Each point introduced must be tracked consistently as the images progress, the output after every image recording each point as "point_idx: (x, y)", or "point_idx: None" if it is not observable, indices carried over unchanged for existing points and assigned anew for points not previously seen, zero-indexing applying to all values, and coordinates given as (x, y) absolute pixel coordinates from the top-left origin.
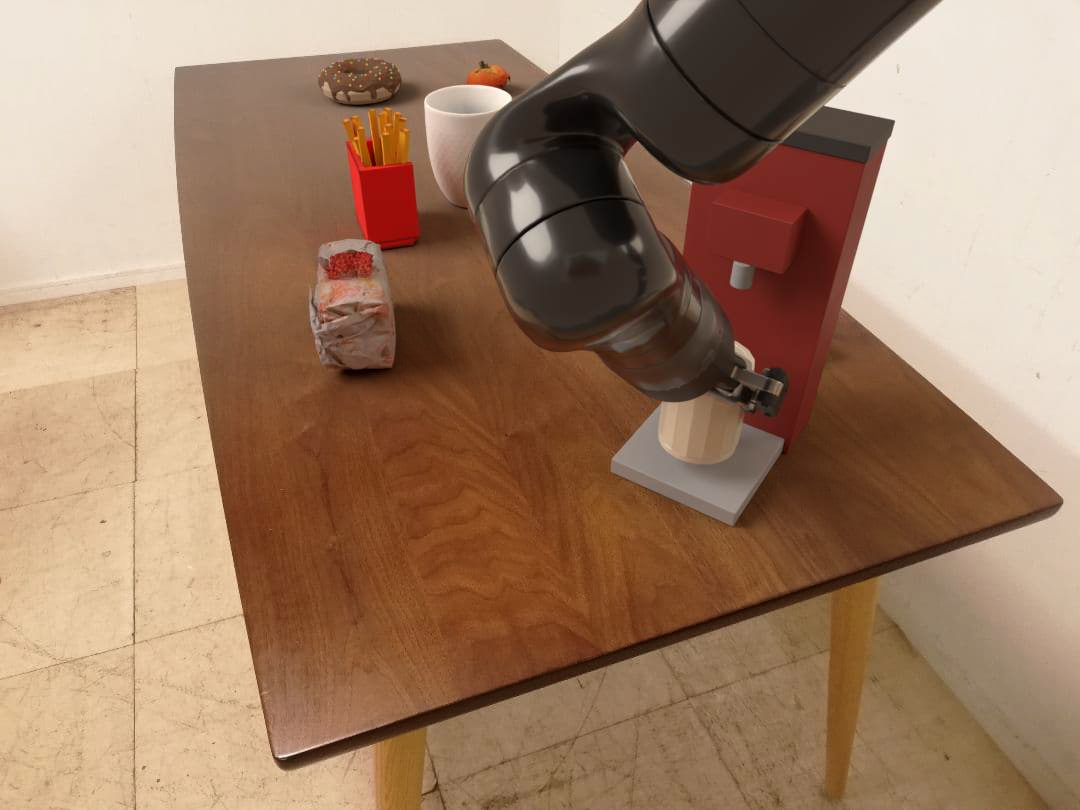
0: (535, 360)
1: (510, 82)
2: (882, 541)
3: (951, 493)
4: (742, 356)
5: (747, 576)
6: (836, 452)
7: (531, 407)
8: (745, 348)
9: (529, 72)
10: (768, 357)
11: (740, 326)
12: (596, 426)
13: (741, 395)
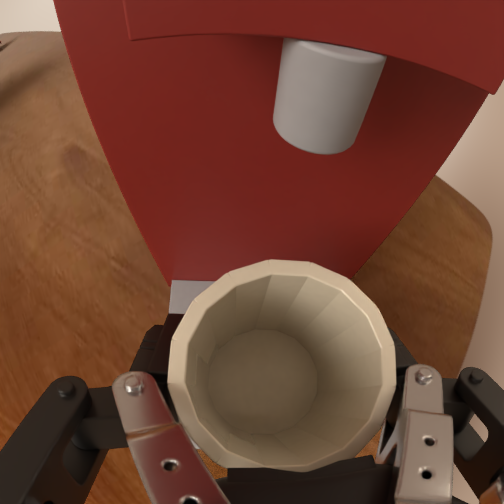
0: (17, 286)
1: (1, 43)
2: (455, 350)
3: (462, 254)
4: (452, 447)
5: None
6: (377, 257)
7: (38, 370)
8: (340, 277)
9: (14, 34)
10: (330, 221)
11: (271, 189)
12: (112, 369)
13: (393, 424)
